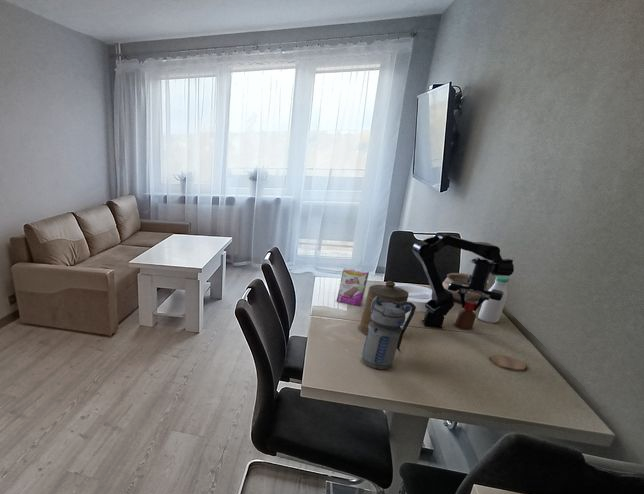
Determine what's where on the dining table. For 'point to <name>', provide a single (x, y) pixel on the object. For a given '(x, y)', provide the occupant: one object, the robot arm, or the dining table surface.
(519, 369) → the coaster
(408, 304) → the beverage bottle
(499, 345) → the dining table surface
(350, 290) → the candy bar box
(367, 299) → the wooden container
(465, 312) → the bottle
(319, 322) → the dining table surface
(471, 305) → the red toy block
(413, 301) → the white circle with bar
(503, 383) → the dining table surface
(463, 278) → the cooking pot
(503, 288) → the milk bottle
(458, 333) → the dining table surface
